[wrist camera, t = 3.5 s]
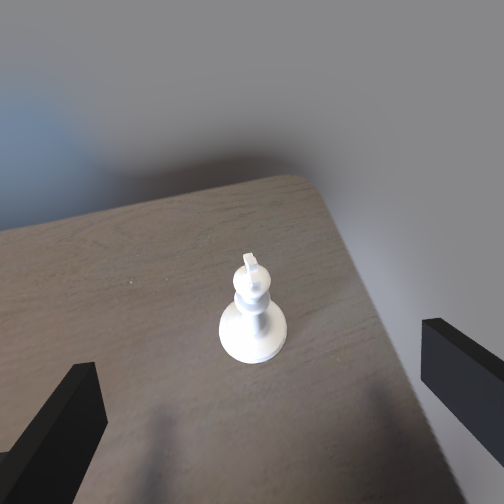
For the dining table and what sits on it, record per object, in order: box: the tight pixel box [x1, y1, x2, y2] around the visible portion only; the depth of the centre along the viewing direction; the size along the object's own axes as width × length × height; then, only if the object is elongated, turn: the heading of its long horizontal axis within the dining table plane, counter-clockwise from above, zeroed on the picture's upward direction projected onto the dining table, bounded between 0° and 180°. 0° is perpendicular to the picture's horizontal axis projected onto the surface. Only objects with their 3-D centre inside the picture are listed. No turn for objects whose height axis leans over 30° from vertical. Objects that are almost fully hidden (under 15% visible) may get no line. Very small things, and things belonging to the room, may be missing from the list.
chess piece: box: [219, 253, 287, 363], centre depth 22 cm, size 5×5×10 cm
